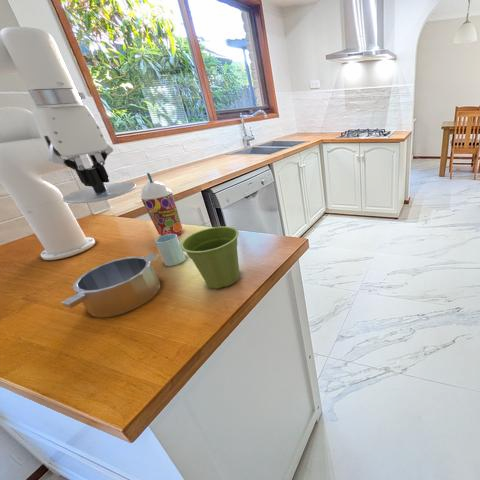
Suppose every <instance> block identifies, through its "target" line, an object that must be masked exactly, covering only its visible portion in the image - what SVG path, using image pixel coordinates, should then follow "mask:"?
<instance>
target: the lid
mask: <svg viewBox="0 0 480 480" xmlns="http://www.w3.org/2000/svg"><path fill="white" fill-rule="evenodd" d="M86 169H88V170H89V171H90V174H91V176H92V178H93V180H94V182H95V184H96V185H95V186H93V187H91V186H88V187H86V188H85V187H84V188H82V189H80V190H75V191H72V192H70V193H68V194H66V195H64V196H63V201H64V202H66V203H67V204H89V203H96V202H97V203H98V202H102V201H108V200H111V199H115V198H119V197H121V196H124V195H125V194H128V193H130V192H132V191H133V190H135V189H136V188H137V185H136V183H134V182H130V181H129V182H127V181H126V182H111V183H105V182H103V180H102V178H101V176H100V174H99V172H98V169H97V168H96V167H93V168H92V167H87V168H86Z"/></svg>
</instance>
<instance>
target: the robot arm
mask: <svg viewBox="0 0 480 480" xmlns="http://www.w3.org/2000/svg"><path fill="white" fill-rule="evenodd" d="M0 75H9V76H10V75H11V76H12V75H13V76H15V75H17V76H20V78H21V80H22V82H23V84H24V86H25V88H26V90H27V92H28V95H30V98H31V99H32V101H33V104H34V106H35V108H31V110H29V109H26V108H25V107H21V106H0V185H2V187H3V188H4V189H5V191H6V192H7V194H8V195H9V196H10V198H11V199H12V201H13V202H14V203H15V205H16V207H17V208H18V210H19V211H20V212H21V214H22V216H23V217H24V219H25V220H26V223H28V225H29V227H30V228H31V230H32V231H33V233H34V234H35V236H36V238H37V239H38V241H39V242H40V244H41V246H42V247H43V248H44V250H42V251H41V253H40V257H41V259H42V260H44V261H56V260H62V259H66V258H69V257H73V256H76V255H78V254H81V253H83V252H86V251H87V250H89V249H91V248H92V247H94V246H95V244H96V240H95V238H94V237H90V236H86V235H85V233H84V231H83V229H82V228H81V226H80V224H79V221H77V219H76V217H75V215H74V213H73V212H72V209H71V207H70V206H69V203H66V202H64V201H63V197H64V196H63V194H62V192H61V190H60V189H59V188H58V187H56V186H55V185H53V184H51V183H49V182H47V181H46V180H44V179H42V177H45V176H49V175H52V174H53V175H54V174H57V173H61V172H66V171H69V170H73V171H75V172H76V174H77V176H78V179H79V180H80V182H81V184H83V185H84V186H85V187H93V186H95V185H96V184H95V182H94V180H93V178H92V176H91V174H90V171H89V170H88V169H87V168H86V167H85V165H84V163H83V161H82V158H81V156H82V155H83V156H84V155H87V156H88V158H89V160H90V162H91V164H92V165H91V168H93V167H96V168H97V169H98V172H99V174H100V176H101V178H102V180H103V182H104V183H105V184H108V183H109V182H110V179H109V174H108V172H107V170H106V168H105V165H106V160H107V158H108V156H109V155H110V154H112V152H114V148H113V147H112V146H111V145H110V144H109V143H108V142H107V140H106V137H105V135H104V132H103V130H102V129H101V127H100V124H99V122H98V121H97V119H96V118H95V116H94V115H93V114H92V112H91V110H90V109H89V108H88V106H87V105H86V104H83V100H85V99H86V95H85V93H84V92H79V90H78V89H76V86H75V84H74V82H73V80H72V77H71V75H70V73H69V71H68V69H67V66H66V63H65V61H64V59H63V57H62V55H61V52H60V50H59V48H58V45H57V43H56V41H55V39H54V38H53V36H52V35H51V34H50V33H49V32H48V31H46V30H43V29H41V28H38V27H37V28H36V27H28V26H7V27H3V28H1V29H0Z"/></svg>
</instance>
